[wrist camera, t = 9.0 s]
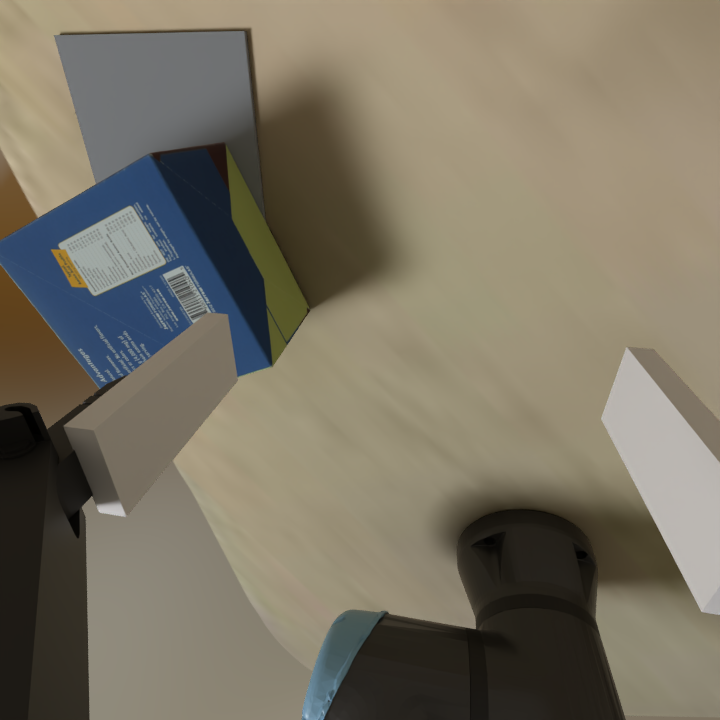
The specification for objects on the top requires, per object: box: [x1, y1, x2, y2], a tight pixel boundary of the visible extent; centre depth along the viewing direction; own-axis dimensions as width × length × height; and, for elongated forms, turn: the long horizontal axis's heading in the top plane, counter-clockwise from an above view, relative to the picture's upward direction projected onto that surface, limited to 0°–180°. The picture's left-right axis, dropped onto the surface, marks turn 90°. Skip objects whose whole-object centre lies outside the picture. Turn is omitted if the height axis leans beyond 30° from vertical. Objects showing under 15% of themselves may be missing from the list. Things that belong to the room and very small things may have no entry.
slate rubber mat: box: [54, 31, 266, 222], centre depth 36 cm, size 22×15×1 cm
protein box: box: [0, 142, 310, 389], centre depth 34 cm, size 10×15×16 cm
